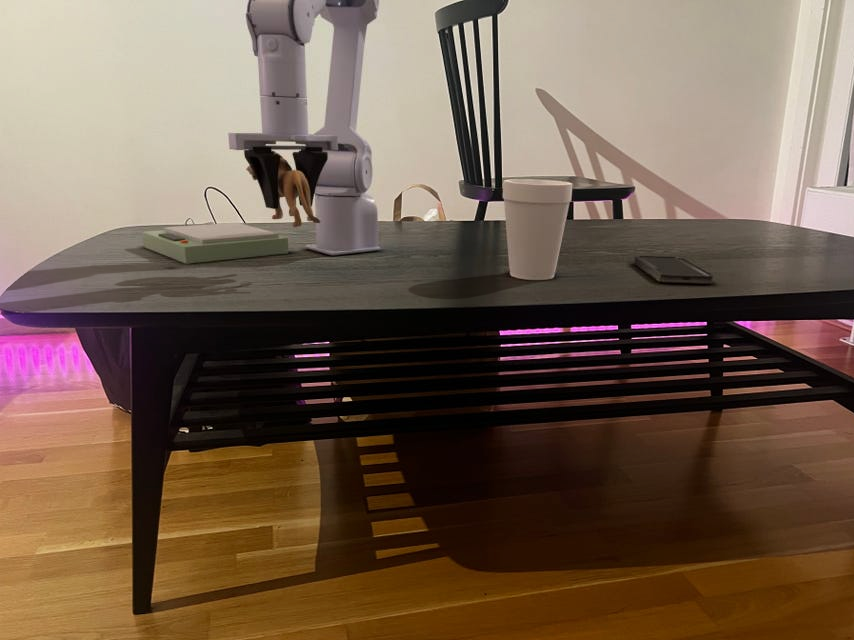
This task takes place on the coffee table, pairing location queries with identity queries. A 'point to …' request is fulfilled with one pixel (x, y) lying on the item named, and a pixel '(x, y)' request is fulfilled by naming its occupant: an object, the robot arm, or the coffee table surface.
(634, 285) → the coffee table surface
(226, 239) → the kitchen scale
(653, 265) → the phone
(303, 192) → the lion figurine
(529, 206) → the foam cup
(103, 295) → the coffee table surface
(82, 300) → the coffee table surface
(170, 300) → the coffee table surface
